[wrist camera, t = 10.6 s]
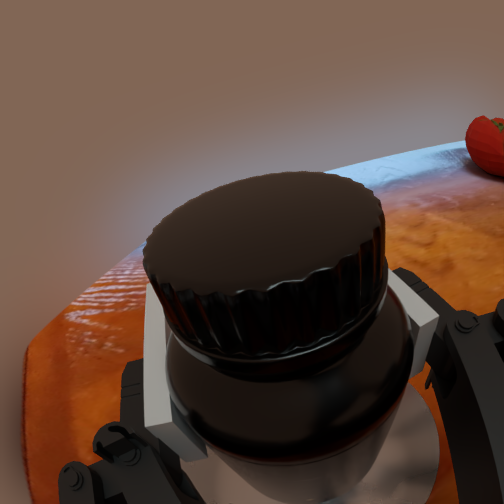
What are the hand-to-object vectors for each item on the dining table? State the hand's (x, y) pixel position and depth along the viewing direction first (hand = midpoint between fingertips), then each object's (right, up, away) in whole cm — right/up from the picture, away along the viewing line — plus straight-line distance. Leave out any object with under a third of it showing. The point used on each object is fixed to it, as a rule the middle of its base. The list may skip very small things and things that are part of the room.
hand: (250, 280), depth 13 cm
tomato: (+45, +15, +26) cm, 54 cm away
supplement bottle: (+3, -8, -1) cm, 9 cm away
